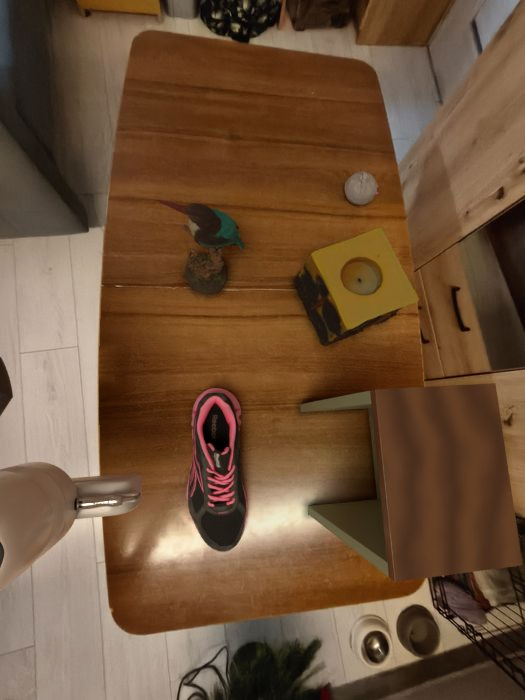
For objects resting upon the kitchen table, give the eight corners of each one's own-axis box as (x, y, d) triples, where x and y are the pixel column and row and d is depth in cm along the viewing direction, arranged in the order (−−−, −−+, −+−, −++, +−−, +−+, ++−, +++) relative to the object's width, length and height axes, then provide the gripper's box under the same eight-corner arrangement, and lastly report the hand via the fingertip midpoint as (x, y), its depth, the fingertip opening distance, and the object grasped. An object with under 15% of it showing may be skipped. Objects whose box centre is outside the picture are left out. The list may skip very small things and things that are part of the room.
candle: (385, 322, 87) (423, 301, 72) (321, 349, 84) (348, 333, 69) (354, 256, 88) (385, 223, 74) (290, 281, 85) (309, 252, 71)
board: (388, 577, 46) (394, 582, 44) (369, 390, 49) (374, 389, 48) (513, 561, 48) (523, 565, 47) (487, 384, 51) (495, 383, 50)
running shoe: (190, 549, 74) (189, 575, 61) (179, 391, 78) (176, 385, 65) (251, 540, 75) (263, 563, 63) (238, 386, 80) (246, 379, 67)
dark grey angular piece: (308, 514, 78) (388, 577, 46) (300, 404, 81) (369, 390, 49) (385, 506, 80) (513, 561, 48) (374, 400, 84) (487, 384, 51)
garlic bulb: (371, 213, 91) (387, 193, 83) (339, 208, 90) (353, 188, 82) (371, 185, 92) (388, 162, 84) (340, 180, 91) (354, 157, 83)
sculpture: (166, 250, 82) (155, 176, 58) (239, 257, 84) (258, 189, 60) (163, 290, 81) (150, 233, 56) (237, 297, 83) (255, 244, 58)
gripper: (136, 467, 44) (149, 457, 57) (-87, 484, 40) (-18, 469, 54) (137, 532, 43) (150, 506, 56) (-92, 555, 39) (-20, 522, 53)
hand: (66, 488), depth 55 cm, fingers open, 8 cm apart
